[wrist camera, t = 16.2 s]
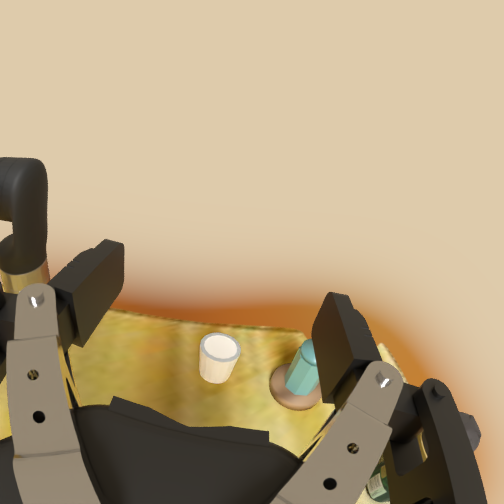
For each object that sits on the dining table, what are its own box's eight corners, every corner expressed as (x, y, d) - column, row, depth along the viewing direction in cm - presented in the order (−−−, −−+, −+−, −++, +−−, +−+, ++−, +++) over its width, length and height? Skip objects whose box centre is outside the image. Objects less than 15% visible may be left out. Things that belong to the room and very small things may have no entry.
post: (258, 384, 47) (270, 356, 44) (292, 362, 54) (306, 334, 51) (297, 419, 42) (315, 394, 38) (329, 392, 48) (347, 366, 45)
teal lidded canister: (278, 380, 47) (295, 347, 43) (297, 367, 51) (314, 334, 47) (301, 400, 43) (321, 368, 40) (319, 385, 47) (339, 353, 43)
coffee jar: (403, 461, 34) (473, 402, 26) (412, 496, 27) (492, 442, 19) (360, 468, 33) (432, 408, 25) (367, 507, 26) (451, 458, 18)
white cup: (237, 365, 51) (245, 340, 48) (227, 391, 44) (235, 367, 41) (203, 353, 51) (208, 327, 48) (190, 377, 45) (193, 352, 42)
